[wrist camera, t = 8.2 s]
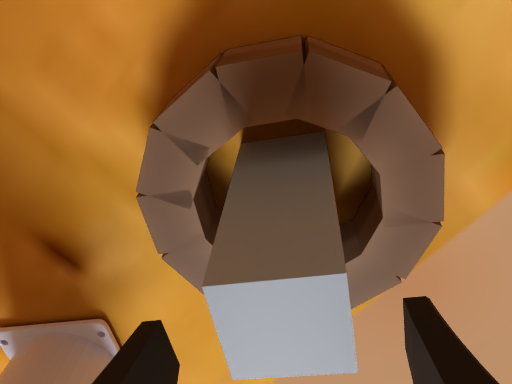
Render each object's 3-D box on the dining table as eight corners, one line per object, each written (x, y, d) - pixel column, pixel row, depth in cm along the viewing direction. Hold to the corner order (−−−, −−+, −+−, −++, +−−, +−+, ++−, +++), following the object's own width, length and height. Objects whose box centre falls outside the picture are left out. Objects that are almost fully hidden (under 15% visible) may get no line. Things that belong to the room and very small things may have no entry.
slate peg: (333, 203, 22) (358, 372, 13) (256, 212, 23) (232, 379, 14) (324, 131, 20) (346, 273, 11) (241, 143, 21) (201, 286, 12)
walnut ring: (426, 264, 23) (442, 304, 21) (197, 287, 26) (186, 326, 23) (423, 11, 17) (445, 23, 15) (121, 70, 19) (94, 89, 17)
